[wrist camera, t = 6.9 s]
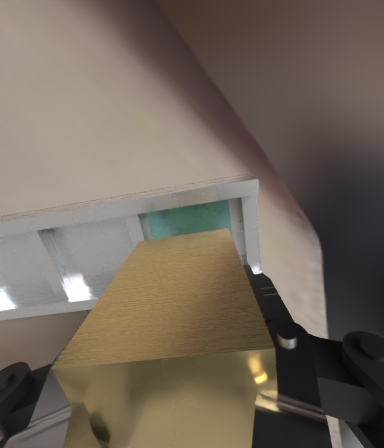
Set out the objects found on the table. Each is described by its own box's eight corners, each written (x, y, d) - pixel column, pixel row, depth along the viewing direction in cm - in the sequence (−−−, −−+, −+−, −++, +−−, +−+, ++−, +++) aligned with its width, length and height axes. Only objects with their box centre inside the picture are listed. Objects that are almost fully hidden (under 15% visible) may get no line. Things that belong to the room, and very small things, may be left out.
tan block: (139, 241, 11) (50, 369, 5) (228, 228, 11) (275, 348, 4) (159, 311, 13) (115, 481, 6) (237, 302, 12) (281, 476, 6)
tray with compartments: (-48, 224, 18) (-95, 238, 15) (247, 173, 15) (258, 178, 13) (-2, 300, 20) (-34, 324, 18) (255, 267, 18) (265, 288, 15)
